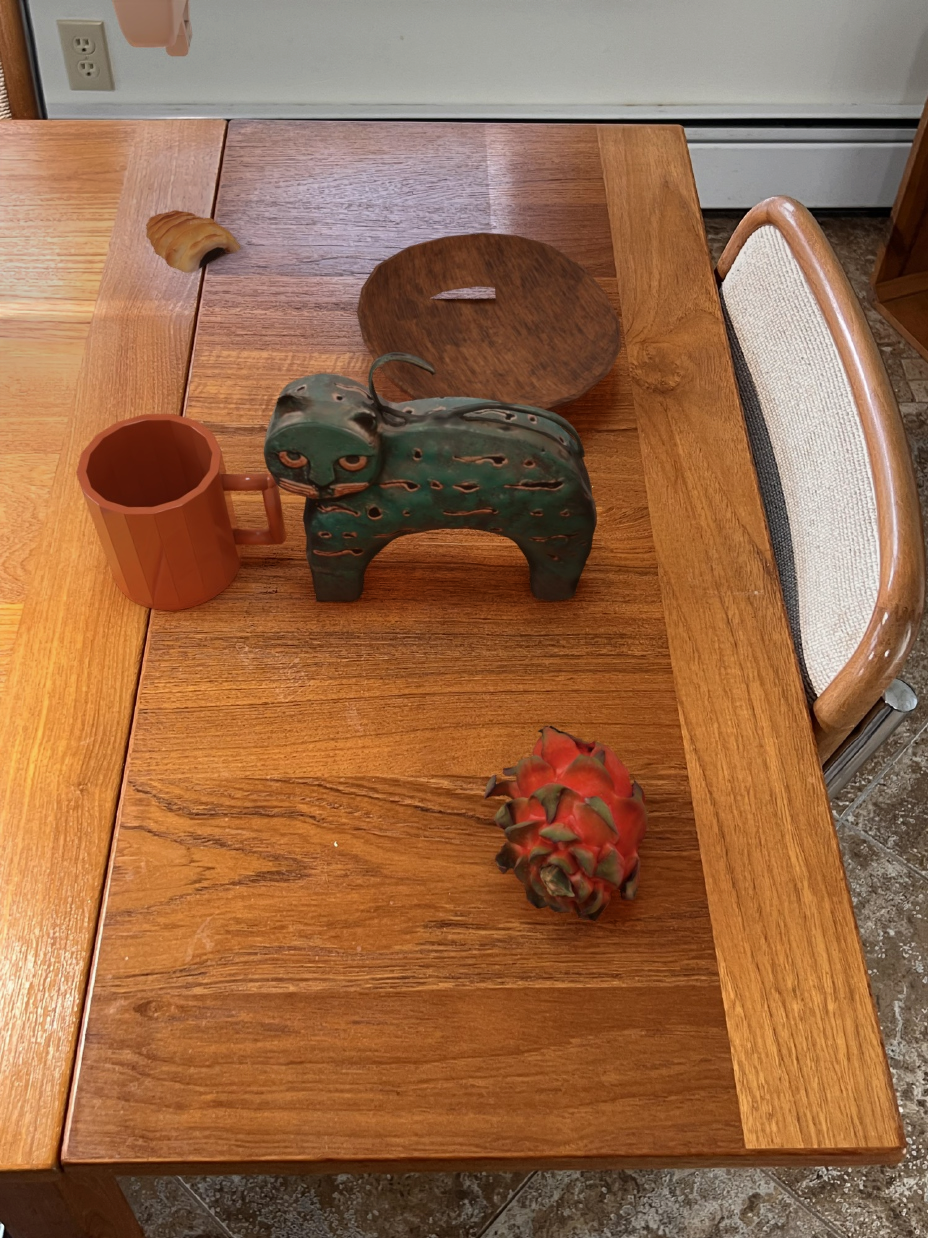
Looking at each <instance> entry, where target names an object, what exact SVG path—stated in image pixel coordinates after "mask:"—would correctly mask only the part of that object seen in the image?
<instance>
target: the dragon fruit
mask: <svg viewBox="0 0 928 1238" xmlns="http://www.w3.org/2000/svg"><path fill="white" fill-rule="evenodd" d="M524 732H525V734H526V733H528V732H531V729H529V730H528V731H523V733H524ZM537 732H538V733H541V735H540V737H538V739H537V741H536V742H535V744H534V747H533V750H532V756H528V757H524V758H521V759H519V760H518V762H517V765H515V766H512V767H511V766H510V767H503V768H502V774H503V775H504V776H506V777H513V776H514V775H515V781H512V780H502V781H500V782H497V774H492V775H491V777H490V778H489V780H488V782H487V784H486V786H485V791H484V795H483V800H486V799H488V798H493V797H502V796H503V797H507V798H510V800H508V801H506V802H504V803H503V804H502V806H500V808H499V809H498V811H497V812H496V813H495V815H494V818H493V820H494V823H495V824H496V826H497V827H498V828H499V829H502V830H503V831H504V832H503V833H504V834H503V835H504V837H505V838H506V839H507V840H506V841H505V842H504V843H503V845H502V846H501V847H500V850H499V851H497V853H496V855H495V858H494V862H495V863H496V865H497V868H498V870H499V871H500V872H501V873H502V875H505V874H506V873H507V872H508V871H509V870H513V873H514V875H515V877H516V878H517V880H519V882H520V883H522V885H523V889H524V892H525V898H526V900H527V902H528V903H530V904H531V905H532V906H533V907H534V908H536V909H538V910H540V909H545V908H547V907H549V908H550V910H551V911H552V912H554V913H559V914H565V913H566V914H567V913H568V914H569V913H570V914H571V913H572V912H574V911H575V913H576V916H577V919H580V920H582V921H586V922H587V921H591V922H597V921H598V919H599V918H600V917H601V915H602V914H603V912H604V911H605V910H606V909H607V907H608V906H609V905H610V902H611V898H612V897H611V895H612V892H613V891H615V890H616V891H619V897H620V899H621V900H624V901H626V900H628V901H633V900H635V898H636V896H637V892H638V891H639V884H640V878H641V869H642V868H641V867H642V866H641V865H642V862H641V858H640V856H639V851H638V850H639V849H638V848H639V846H640V843H642V841H643V840H644V839H645V836H646V835H645V834H646V832H647V828H648V821H649V816H648V810H647V807H646V799H647V798H646V794H645V790H644V788H643V787H642V786H641V785H640V784H639V783H638V782H637V780H635V779H634V780H633V783H631V780H630V771H629V769H628V767H627V766H626V765H625V764H624V763H623V762H622V760H621V759H620V758H619V755H617V754H616V753H615V752H614V751H613V750H612V749H611V747H609V746H608V745H605V744H603V743H600V742H598V741H596V740H592V742H589V741H587V740H584V739H583V738H579V737H577V736H575V735H573V734H570V733H569V732H565V731H562V730H559V729H558V728H556V727H555V726H552V725H544V727H543V728H541V729H538V730H537ZM522 736H523V735H522Z"/></svg>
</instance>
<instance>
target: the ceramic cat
mask: <svg viewBox="0 0 928 1238" xmlns="http://www.w3.org/2000/svg"><path fill="white" fill-rule="evenodd" d="M389 361H402V362H406V363H409V364H413V365H415V366H417V367H419V368H421V369H423V370H426V371H428V372H430V373H431V374H432V375H433V374H435V373H436V372H435V371H434V369H433V367H432V366H431V365H430V364H428V363H427V362H426V361H425V360H423V359H421V358H419V357H417V356H414V355H411V354H407V353H402V352H392V353H388V354H385V355H382V356H380V357H377V359H376V360H374V361H372V363H371V366H370V369H369V372H368V379H367V380H368V386H367V385H365V384H364V383H361V382H359V381H357V380H355V379H352V378H350V377H348V376H345V375H341V374H337V373H328V372H321V373H315V374H310V375H305V376H303V377H300V378H297V379H295V380H293V381H290V382H288V383H287V384H286V385H285V386H284V387H283V389H282V390H280V393H279V396H278V398H277V400H276V403H275V406H274V408H273V411H272V413H271V416H270V419H269V423H268V425H267V429H266V433H265V437H264V446H263V458H264V463H265V466H266V469H267V470H268V472H269V474H271V475H272V476H273V478H274V480H275V482H276V484H277V485H278V487H279V489H280V488H281V489H282V490H284V491H286V492H288V493H290V494H293V495H297V496H299V497H300V496H301V497H304V498H305V502H304V508H303V515H302V523H303V526H304V534H305V536H306V537H305V558H306V562H307V564H308V567H309V570H310V574H311V578H312V584H313V591H314V596H315V603H354V602H356V601H358V600H359V599H360V598H361V596H362V595H363V591H364V587H365V584H366V583H365V581H366V580H365V574H366V572H367V571H366V570H367V568H368V566H369V565H370V563H371V562H372V561H373V560H374V559H375V557H376V556H378V554H379V553H380V552H382V550H383V549H384V548H386V547H387V546H388V545H389V544H391V543H392V542H393V541H394V540H397V539H399V538H401V537H404V536H410V535H414V534H420V533H425V532H431V531H437V530H471V531H480V532H485V533H491V534H494V535H498V536H501V537H504V538H507V539H509V540H510V541H512V542H513V543H514V544H516V545H517V547H518V548H519V550H520V552H521V553H522V555H523V556H524V557H525V560H526V562H527V566H528V572H529V578H528V580H529V581H528V582H529V588H530V592H531V593H532V595H533V596H534V598H535V599H536V600H543V601H545V602H558V601H559V602H560V601H566V600H570V599H573V598H574V597H575V596H576V594H577V590H578V586H579V583H580V581H581V577H582V574H583V571H584V570H585V566H586V564H587V561H588V559H589V557H590V555H591V551H592V548H593V542H594V535H595V531H596V528H597V524H598V511H597V506H596V501H595V499H594V496H593V490H592V483H591V478H590V474H589V470H588V469H587V466H586V464H585V460H584V458H585V457H586V453H585V451H586V450H585V448H584V445H583V443H582V439H581V436H580V435H579V433H578V432H577V430H576V428H575V427H574V426H573V425H572V424H571V423H570V422H569V421H568V420H567V419H566V418H564V417H562V416H561V415H559V414H558V413H556V412H550V411H547V410H544V409H541V408H537V407H532V406H527V405H522V404H513V403H503V402H497V401H492V400H486V399H479V398H468V397H438V398H429V399H419V400H413V399H412V400H407V401H401V402H393V401H388V399H386V398H383V396H381V395H380V394H379V393H377V391H376V388H375V384H374V379H373V378H374V372H375V370H376V369H377V368H378V367H379V365H381V364H384V363H386V362H389Z"/></svg>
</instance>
